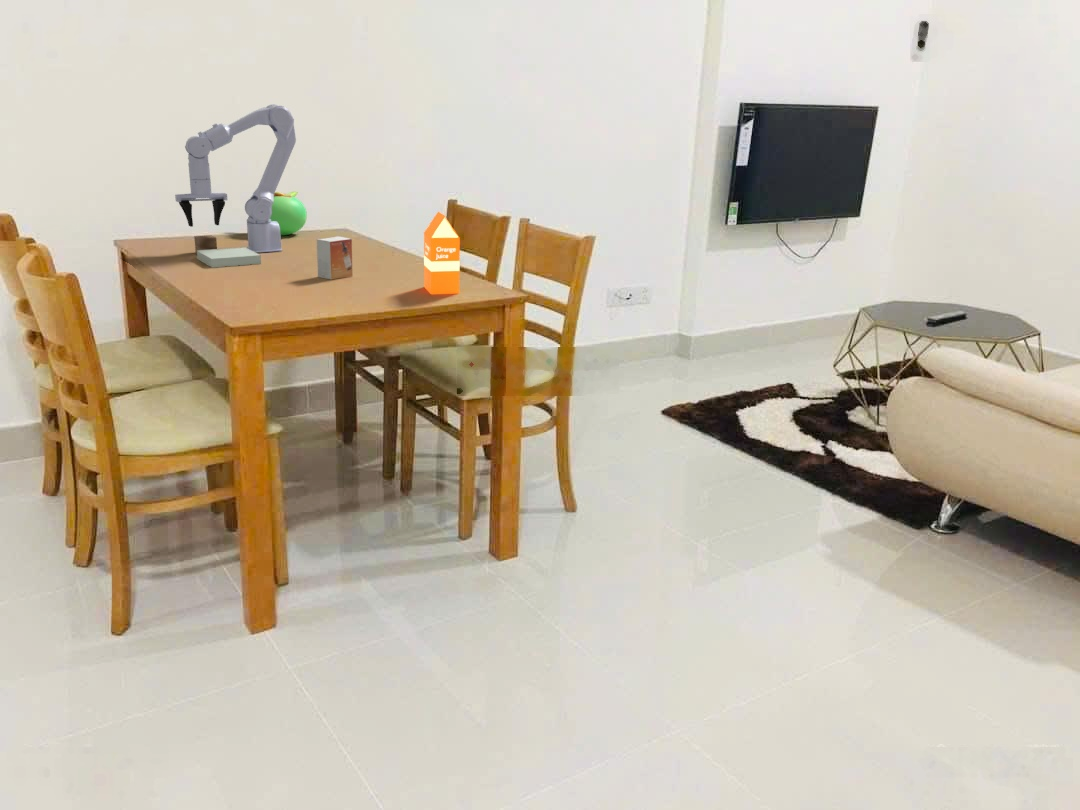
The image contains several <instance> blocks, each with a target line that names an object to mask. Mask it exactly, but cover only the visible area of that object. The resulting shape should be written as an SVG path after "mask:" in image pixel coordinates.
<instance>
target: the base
mask: <svg viewBox="0 0 1080 810" xmlns="http://www.w3.org/2000/svg"><path fill="white" fill-rule="evenodd" d="M245 247H246V246H244V247H243V246H241V247H229V248H228V247H227V248H226V247H225V248H217V249H211V250H197V253H196V258H197V260H199V261H200V262H202V263H203V264H205V265H207V266H209V267H210V268H226V267H225V266H227V267H237V266H238V265H240V266H250V264H252V265H260V264H262V257H261V254H259V253H255V252H253V251H251V250H249V249H247V248H245ZM238 267H239V266H238Z"/></svg>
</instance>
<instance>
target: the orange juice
mask: <svg viewBox="0 0 1080 810" xmlns="http://www.w3.org/2000/svg"><path fill="white" fill-rule="evenodd" d="M460 239H461V238H460V237H459V235H458V234H457V232H456V230H455V229H454V228H453V227H452V225H451V224H450V222H449V220H448V219H447V217H446V215H444V214H443V213H442V212H440V211H437V213H436V214H435V216H434V217H433V218H432V220H431V222H430V223H429V224H428V226H427V227H426V229H425V230H424V232H423V270H424V271H423V273H424V275H423V281H424V282H423V286H424V287H423V288H425V290H426V291H427V292H428V293H429V294H430V295H450V294H452V295H453V294H454V295H455V294H460V269H461V268H460V264H461V263H460V257H461V256H460V250H461V247H460V246H461V240H460Z"/></svg>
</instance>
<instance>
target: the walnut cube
mask: <svg viewBox="0 0 1080 810" xmlns="http://www.w3.org/2000/svg"><path fill="white" fill-rule="evenodd" d="M193 239H194V248H195V253H196V254H197V250H211V249H218V245H217V237H215V236H213V235H211V234H210V235H194V237H193Z"/></svg>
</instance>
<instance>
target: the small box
mask: <svg viewBox="0 0 1080 810" xmlns="http://www.w3.org/2000/svg"><path fill="white" fill-rule="evenodd" d="M352 240H353V239H352V238H349V237H344V236H340V235H339V236H332V237H326V238H317V239H316V260H317V261H316V262H317V277H318V278H321V279H326V280H329V281H331V280H332V281H333V280H335V279H343V278H350V277H353V276H354V275H353V241H352Z"/></svg>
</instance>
